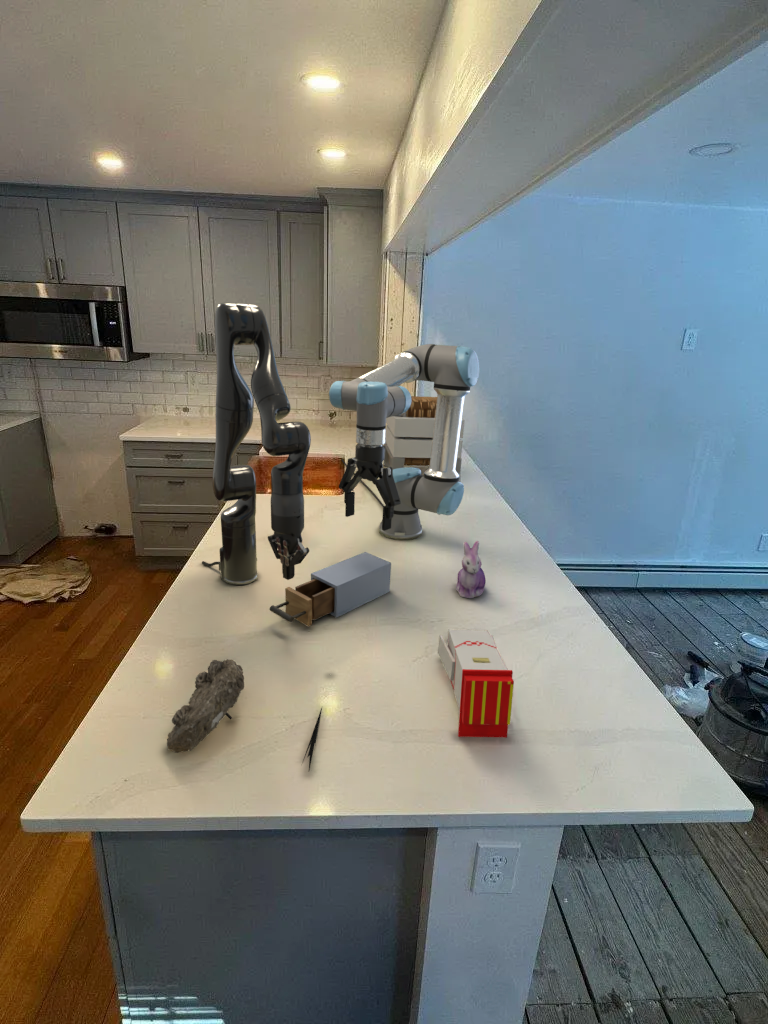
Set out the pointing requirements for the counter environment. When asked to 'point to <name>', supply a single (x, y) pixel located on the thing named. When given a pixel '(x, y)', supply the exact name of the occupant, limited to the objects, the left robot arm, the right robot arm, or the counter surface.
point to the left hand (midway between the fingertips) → (288, 578)
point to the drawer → (307, 602)
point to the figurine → (471, 573)
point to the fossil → (206, 705)
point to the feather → (313, 740)
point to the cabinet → (356, 581)
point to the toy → (478, 682)
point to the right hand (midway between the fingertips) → (367, 522)
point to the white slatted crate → (414, 435)
